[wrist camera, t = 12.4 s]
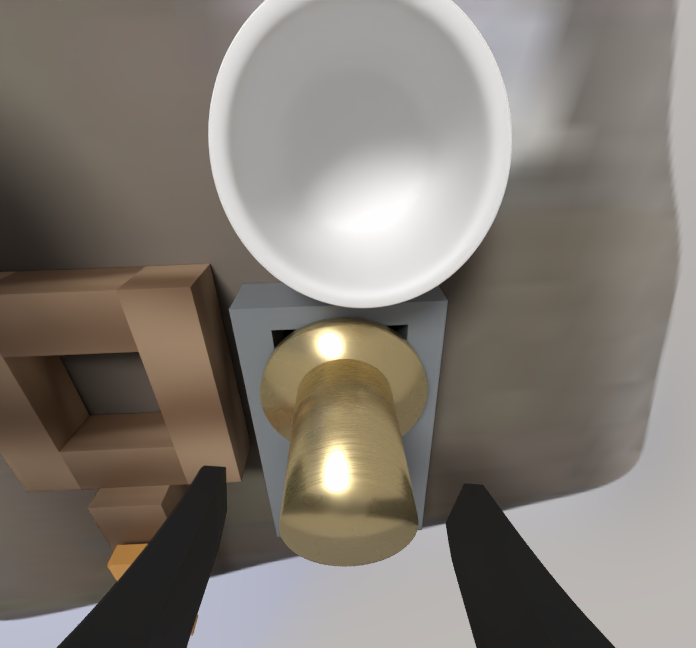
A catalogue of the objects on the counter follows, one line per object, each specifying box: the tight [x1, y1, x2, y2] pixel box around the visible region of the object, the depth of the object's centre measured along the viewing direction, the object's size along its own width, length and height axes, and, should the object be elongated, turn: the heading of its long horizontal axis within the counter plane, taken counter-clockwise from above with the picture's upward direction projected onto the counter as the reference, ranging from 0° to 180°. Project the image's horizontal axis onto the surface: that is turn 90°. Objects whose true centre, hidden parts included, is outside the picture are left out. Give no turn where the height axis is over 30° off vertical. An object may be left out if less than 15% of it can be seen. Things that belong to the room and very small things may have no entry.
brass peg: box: [260, 317, 428, 566], centre depth 14 cm, size 7×7×9 cm
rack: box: [229, 282, 448, 537], centre depth 19 cm, size 15×8×2 cm, turn 2°
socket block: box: [0, 264, 251, 551], centre depth 18 cm, size 15×11×4 cm
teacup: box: [208, 0, 512, 308], centre depth 11 cm, size 10×8×5 cm
